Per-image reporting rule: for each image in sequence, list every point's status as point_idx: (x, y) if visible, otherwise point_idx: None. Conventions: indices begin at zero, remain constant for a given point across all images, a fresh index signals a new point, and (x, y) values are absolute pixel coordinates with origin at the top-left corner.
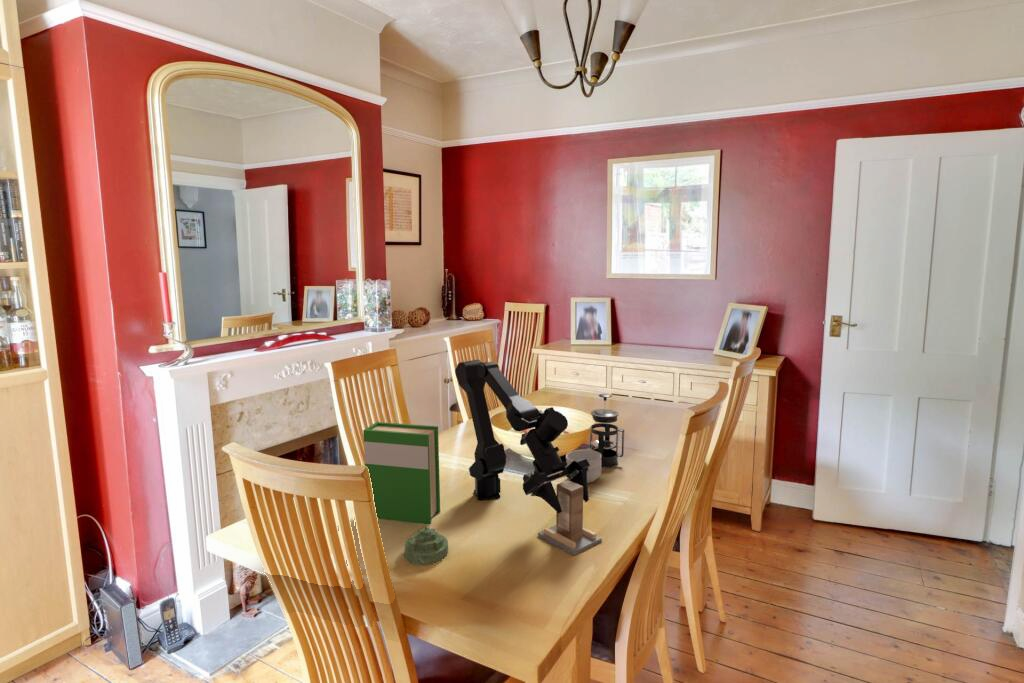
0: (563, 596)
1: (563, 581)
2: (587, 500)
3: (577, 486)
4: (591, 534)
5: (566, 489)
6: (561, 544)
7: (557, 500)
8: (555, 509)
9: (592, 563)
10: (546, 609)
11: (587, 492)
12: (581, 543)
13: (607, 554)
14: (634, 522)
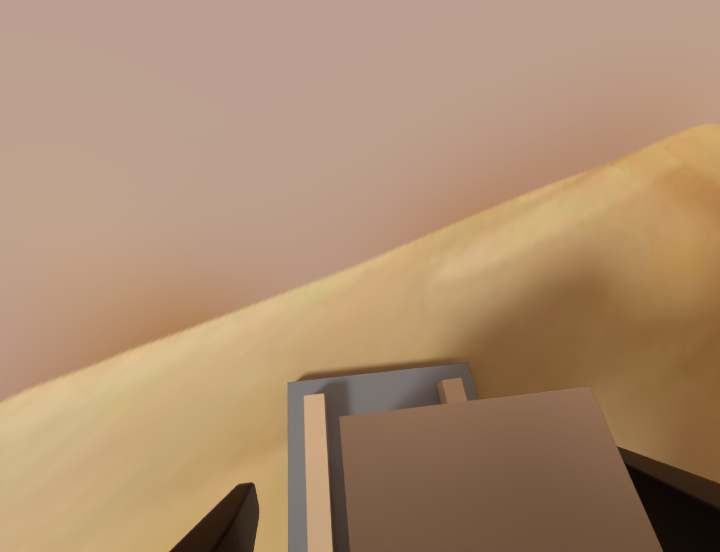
0: (597, 216)
1: (570, 264)
2: (253, 483)
3: (422, 472)
4: (324, 406)
5: (636, 512)
6: None
7: (700, 490)
8: None
9: (429, 288)
10: (660, 202)
11: (194, 532)
12: (394, 399)
13: (345, 301)
14: (23, 434)
